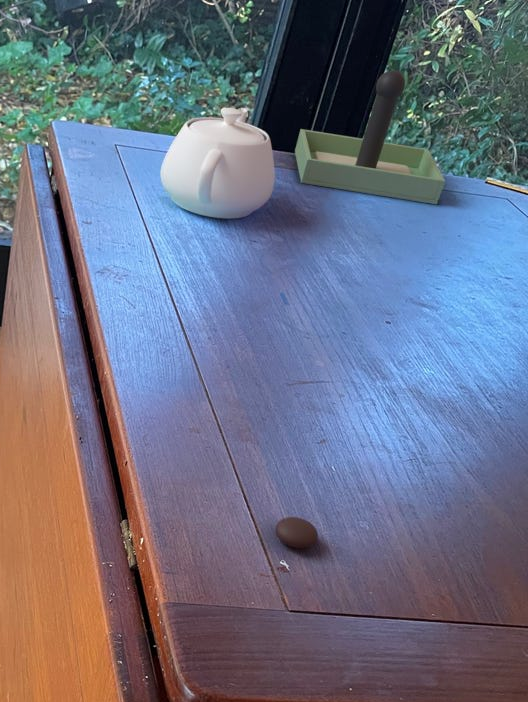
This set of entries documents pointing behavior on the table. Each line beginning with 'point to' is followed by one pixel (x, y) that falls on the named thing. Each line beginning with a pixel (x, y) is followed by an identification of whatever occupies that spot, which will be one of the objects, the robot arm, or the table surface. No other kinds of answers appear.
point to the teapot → (219, 166)
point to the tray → (414, 186)
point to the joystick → (376, 127)
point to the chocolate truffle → (296, 532)
